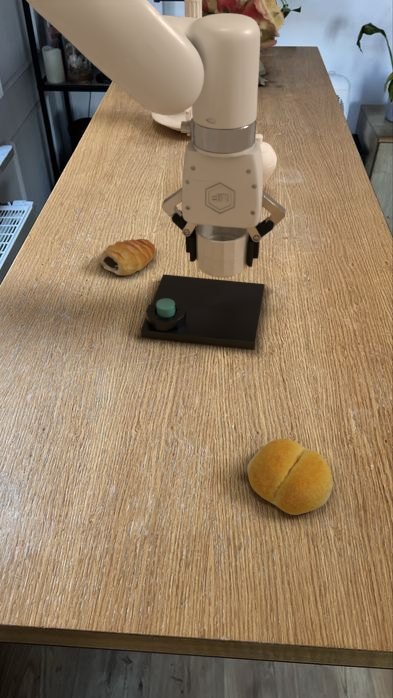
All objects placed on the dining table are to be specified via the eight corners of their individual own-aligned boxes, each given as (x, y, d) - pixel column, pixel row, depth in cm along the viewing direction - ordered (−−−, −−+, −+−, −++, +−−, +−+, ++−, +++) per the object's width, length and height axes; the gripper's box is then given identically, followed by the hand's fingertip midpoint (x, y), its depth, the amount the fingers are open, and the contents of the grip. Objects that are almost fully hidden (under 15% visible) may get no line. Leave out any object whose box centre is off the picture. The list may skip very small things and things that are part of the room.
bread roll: (308, 531, 60) (313, 509, 57) (236, 486, 64) (237, 464, 61) (345, 477, 65) (351, 454, 62) (276, 439, 69) (278, 416, 66)
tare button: (154, 317, 82) (154, 308, 81) (159, 306, 84) (158, 297, 83) (173, 319, 82) (172, 310, 81) (176, 307, 84) (176, 299, 83)
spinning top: (226, 196, 114) (227, 135, 106) (252, 183, 118) (255, 124, 111) (256, 209, 110) (260, 147, 102) (281, 195, 114) (287, 134, 106)
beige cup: (192, 278, 81) (191, 240, 77) (201, 250, 86) (201, 213, 82) (244, 282, 80) (246, 244, 76) (250, 254, 85) (252, 217, 81)
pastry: (138, 243, 102) (136, 224, 99) (166, 258, 98) (165, 238, 96) (96, 266, 97) (94, 246, 94) (124, 282, 93) (122, 262, 91)
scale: (141, 337, 83) (139, 321, 81) (163, 281, 93) (162, 265, 91) (254, 350, 81) (255, 333, 79) (264, 291, 91) (265, 275, 89)
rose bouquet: (283, 87, 162) (293, -43, 142) (177, 88, 162) (173, -41, 142) (272, 59, 181) (280, -58, 162) (178, 61, 181) (174, -56, 161)
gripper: (145, 141, 69) (155, 268, 81) (295, 150, 66) (282, 280, 78) (160, 118, 74) (167, 240, 86) (299, 125, 72) (286, 250, 83)
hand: (222, 258), depth 82 cm, fingers closed on beige cup, 7 cm apart
